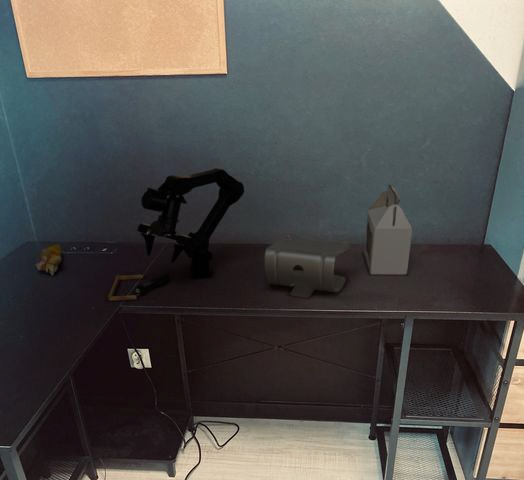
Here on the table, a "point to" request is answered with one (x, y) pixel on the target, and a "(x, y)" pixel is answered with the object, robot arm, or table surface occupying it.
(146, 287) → the electric trimmer
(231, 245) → the table surface
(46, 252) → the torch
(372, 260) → the gable box
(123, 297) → the dock
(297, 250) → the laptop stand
